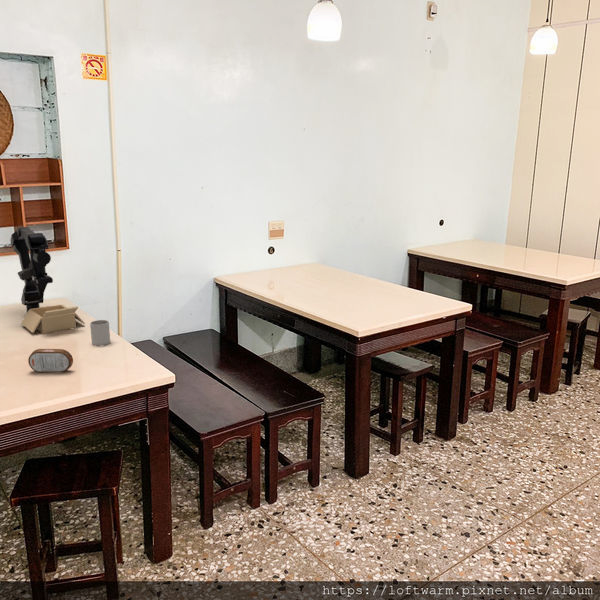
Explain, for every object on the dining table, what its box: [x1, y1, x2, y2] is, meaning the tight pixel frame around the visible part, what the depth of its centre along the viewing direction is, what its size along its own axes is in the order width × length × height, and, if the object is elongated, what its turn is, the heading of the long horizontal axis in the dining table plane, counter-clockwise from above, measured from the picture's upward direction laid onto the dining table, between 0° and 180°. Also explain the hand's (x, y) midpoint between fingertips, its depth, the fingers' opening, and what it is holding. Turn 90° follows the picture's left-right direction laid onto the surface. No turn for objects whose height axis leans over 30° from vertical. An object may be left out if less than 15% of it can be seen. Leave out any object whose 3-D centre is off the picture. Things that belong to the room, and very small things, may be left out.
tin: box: [27, 348, 74, 374], centre depth 212 cm, size 15×3×8 cm, turn 92°
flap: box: [42, 306, 79, 318], centre depth 256 cm, size 7×13×1 cm
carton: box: [21, 304, 86, 335], centre depth 268 cm, size 22×22×7 cm
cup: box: [89, 319, 111, 347], centre depth 245 cm, size 7×10×9 cm
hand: (41, 295), depth 268 cm, fingers closed
